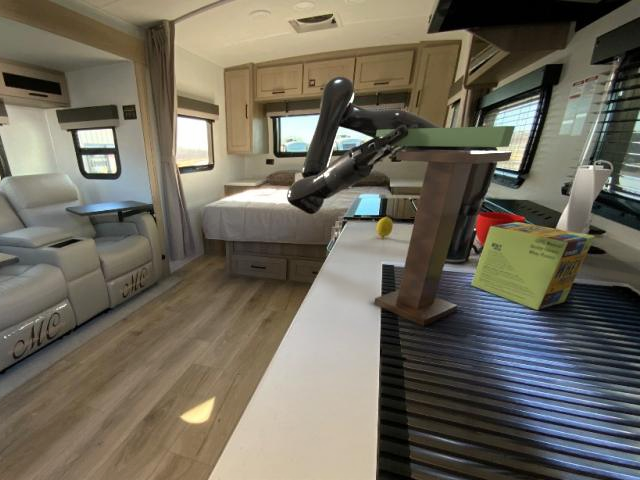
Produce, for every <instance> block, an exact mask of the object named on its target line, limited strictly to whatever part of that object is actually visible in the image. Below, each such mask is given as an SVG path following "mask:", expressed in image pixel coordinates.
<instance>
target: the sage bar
mask: <svg viewBox="0 0 640 480" xmlns="http://www.w3.org/2000/svg"><path fill="white" fill-rule="evenodd" d="M515 129H516V126H515V125H499V126H498V125H495V126H494V125H493V126H461V127H459V126H458V127H440V128H422V129H407V130H408V135H407V136H406V137H404V138H402V139H401V140H399V141H398V142H396V143H394V144H393V145H390V146H450V147H496V148H508V147H510V144H511V141H512V138H513V134H514V132H515ZM393 130H395V129H388V130H377V133H376V137H377V136H379V138H380V137H382V136H383V135H386V134H389V133H390V132H392V131H393Z"/></svg>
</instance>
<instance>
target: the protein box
mask: <svg viewBox="0 0 640 480" xmlns="http://www.w3.org/2000/svg"><path fill="white" fill-rule="evenodd" d="M595 238H596V235H592V234H580V233H575V232H569V231H564V230H559V229H556V228H555V227H553V228H552V227H547V226H542V225H536V224H530V223H525V222H524V223H520V222H517V223H509V224H502V225H494V226H491V227H490V230H489V233H488V236H487V239H486V242H485V245H483V246H484V248H483V250H482V251H481V254H480V257H479V261H478V264H477V266H476V268H475V272H474V275H473V278H472V281H471V284H470V285H471V286H472V287H474V288H477V289H480V290H482V291H485V292H488V293H491V294H493V295H496V296H498V297H500V298H503V299H506V300H508V301H511V302H514V303H516V304H519V305H522V306H525V307H528V308H530V309H533V310H536V311H540V310H543V309H546V308H550V307H552V306H555V305H556V306H557V305H559V304H562V303H564V302H566V299H567V297H568V295H569V293H570V291H571V289H572V286H573V284H574V282H575V280H576V278H577V275H578V273H579V271H580V269H581V267H582V265H583V263H584V260H585V258H586V256H587V254H588V252H589V250H590V248H591V246H592V243H593V241H594V240H595Z"/></svg>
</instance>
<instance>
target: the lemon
mask: <svg viewBox="0 0 640 480" xmlns="http://www.w3.org/2000/svg"><path fill="white" fill-rule="evenodd" d="M393 226H394V225H393V220H392V219H391V218H390V217H388V216H385V217H382V218H380V219H379V220H378V222H377V224H376V228H375V229H376V233H377V235H378V236H380V237H381V239H384V238H385V237H387V236H389V235H390V234H391V233H392V231H393V228H394V227H393Z"/></svg>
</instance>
